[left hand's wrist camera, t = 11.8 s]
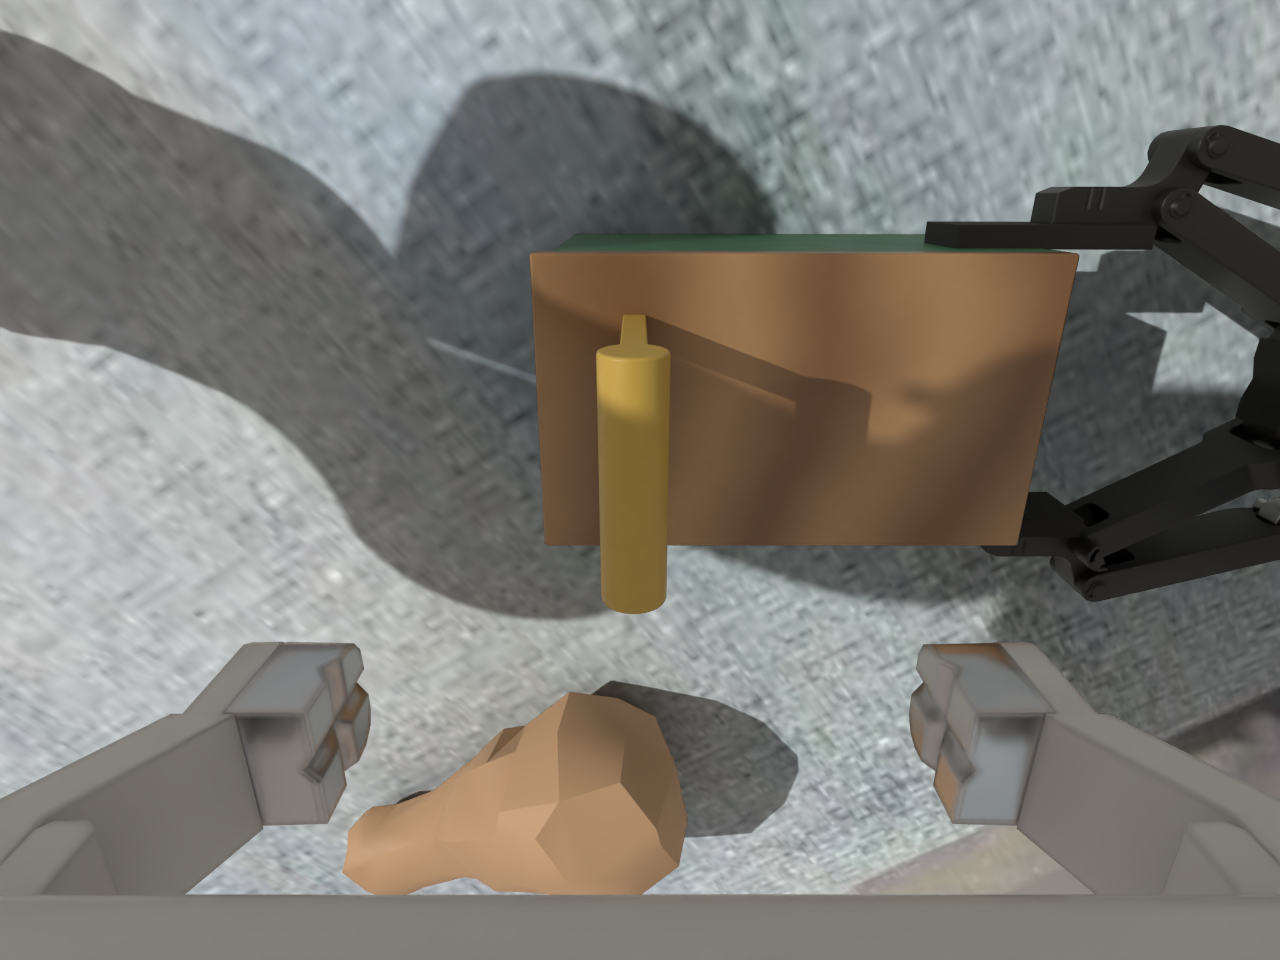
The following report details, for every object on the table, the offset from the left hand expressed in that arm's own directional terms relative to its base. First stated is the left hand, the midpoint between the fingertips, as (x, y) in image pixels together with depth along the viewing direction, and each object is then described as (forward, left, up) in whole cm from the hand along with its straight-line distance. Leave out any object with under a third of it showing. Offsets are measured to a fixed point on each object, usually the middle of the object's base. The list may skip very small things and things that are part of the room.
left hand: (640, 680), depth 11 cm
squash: (-11, -23, -25) cm, 36 cm away
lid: (+5, -1, -15) cm, 16 cm away
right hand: (+10, -2, -17) cm, 20 cm away
